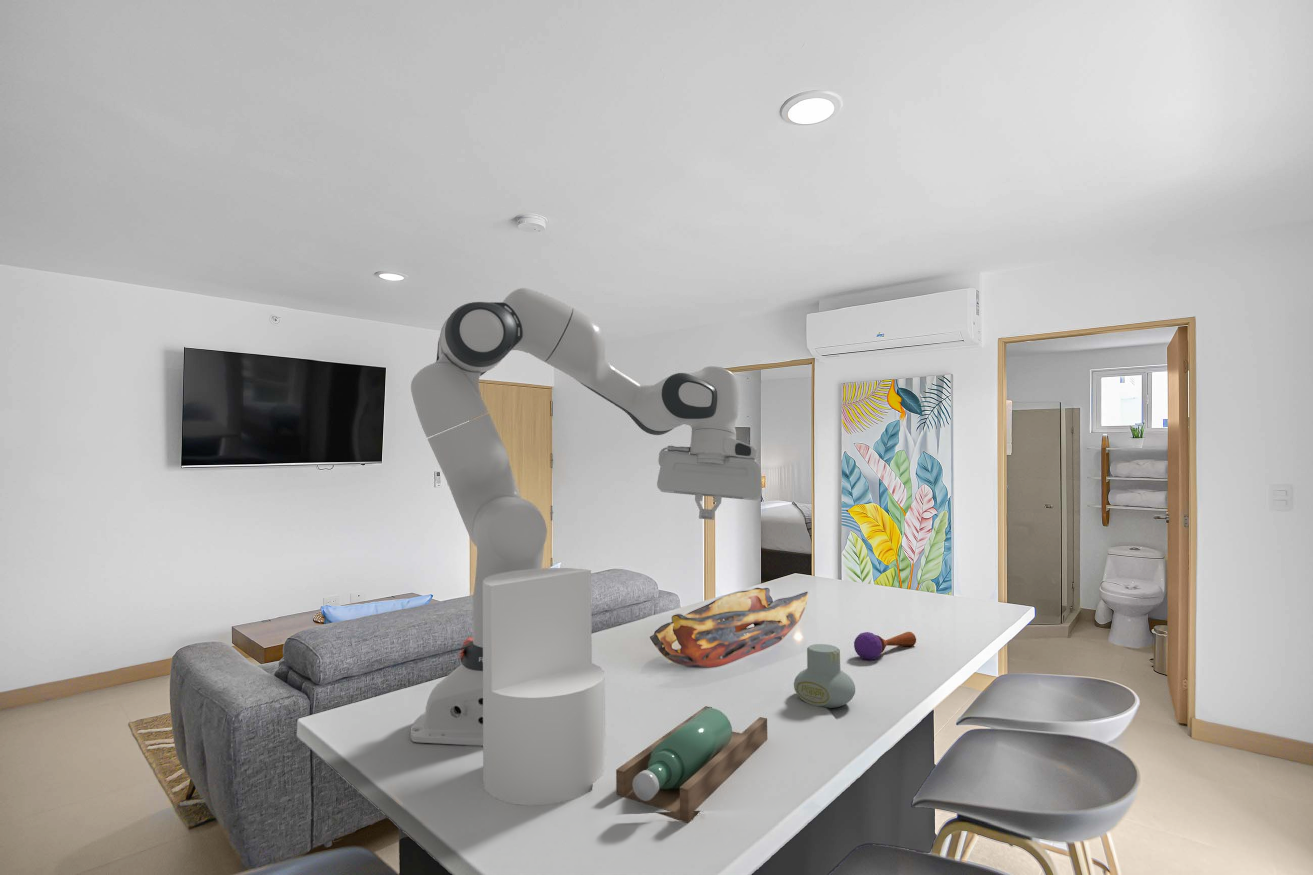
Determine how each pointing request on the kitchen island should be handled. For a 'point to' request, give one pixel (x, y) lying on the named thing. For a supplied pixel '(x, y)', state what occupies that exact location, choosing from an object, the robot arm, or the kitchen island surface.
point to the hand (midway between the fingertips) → (706, 519)
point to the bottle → (684, 753)
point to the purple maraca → (880, 643)
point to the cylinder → (541, 687)
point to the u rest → (700, 783)
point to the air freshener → (824, 678)
